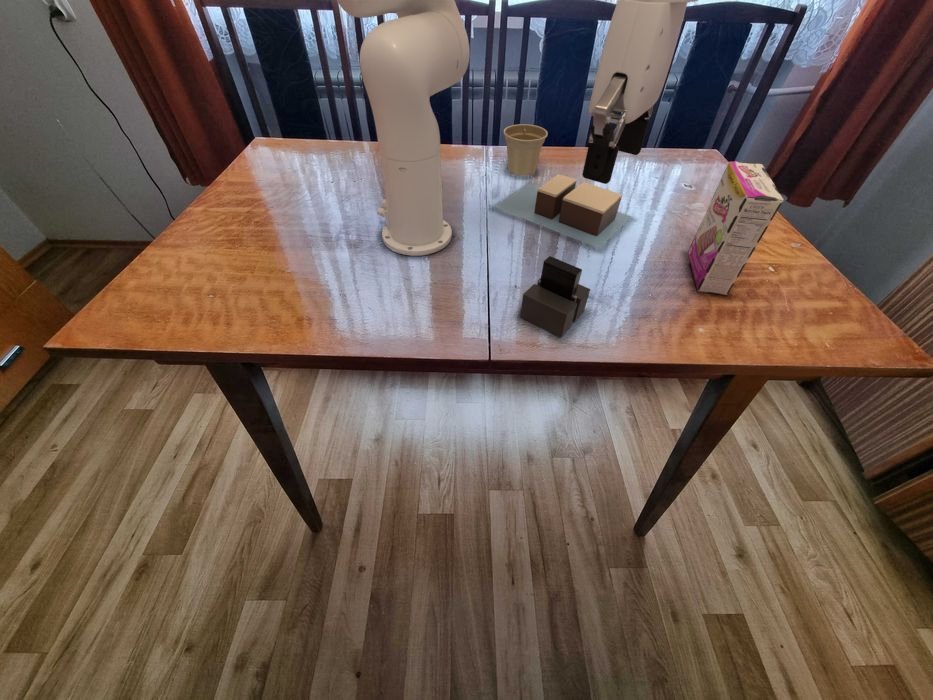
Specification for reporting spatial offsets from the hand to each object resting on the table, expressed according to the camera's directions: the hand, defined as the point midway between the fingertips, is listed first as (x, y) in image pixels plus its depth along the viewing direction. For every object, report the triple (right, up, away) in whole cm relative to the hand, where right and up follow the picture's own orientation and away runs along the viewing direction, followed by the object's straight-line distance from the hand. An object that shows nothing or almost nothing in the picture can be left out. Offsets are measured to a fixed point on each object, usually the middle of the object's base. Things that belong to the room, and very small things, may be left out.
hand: (611, 165), depth 50 cm
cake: (+6, +2, +30) cm, 30 cm away
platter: (+1, +5, +32) cm, 33 cm away
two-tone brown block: (0, +6, +33) cm, 33 cm away
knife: (-5, -17, +12) cm, 22 cm away
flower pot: (-5, +18, +45) cm, 49 cm away
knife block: (-5, -17, +12) cm, 22 cm away
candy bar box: (+22, -10, +20) cm, 31 cm away
